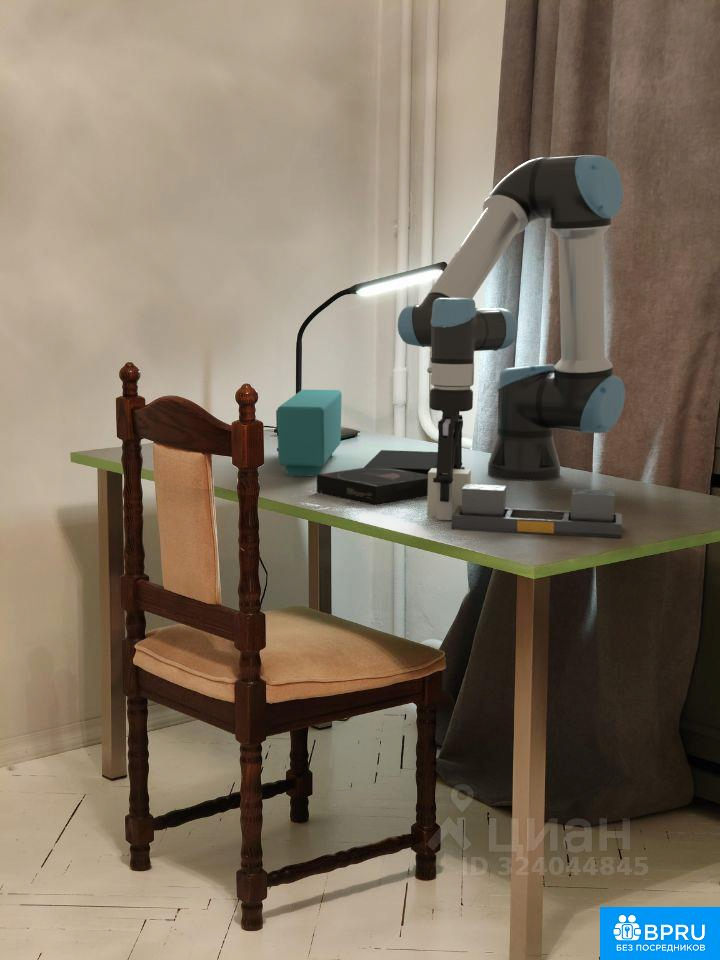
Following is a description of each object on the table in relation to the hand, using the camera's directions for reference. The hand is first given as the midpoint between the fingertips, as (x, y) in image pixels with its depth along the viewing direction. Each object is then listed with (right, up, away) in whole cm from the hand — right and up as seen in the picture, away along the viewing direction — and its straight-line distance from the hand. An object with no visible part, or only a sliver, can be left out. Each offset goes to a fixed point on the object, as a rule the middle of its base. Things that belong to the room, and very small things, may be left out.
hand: (448, 513), depth 217 cm
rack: (+14, -2, -10) cm, 18 cm away
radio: (-27, +9, +51) cm, 58 cm away
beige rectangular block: (0, 0, 0) cm, 0 cm away
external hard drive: (-6, +7, +45) cm, 46 cm away
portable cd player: (-12, +3, +20) cm, 23 cm away
